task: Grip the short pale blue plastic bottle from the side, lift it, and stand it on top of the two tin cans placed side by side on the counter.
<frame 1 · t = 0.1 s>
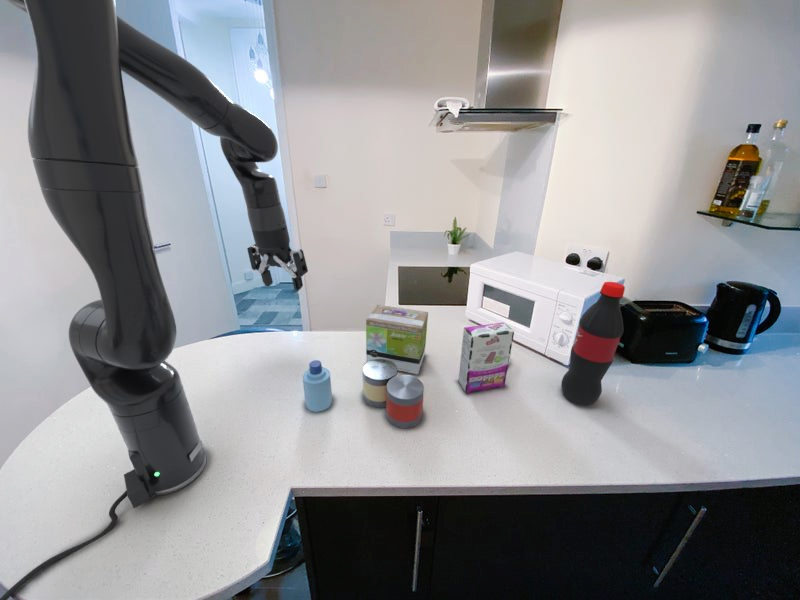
hand: (283, 287, 79), 22 cm above the worktop, tool pointing down, fingers open, 8 cm apart
candy bar box: (480, 384, 81), on the worktop
can front: (404, 414, 71), on the worktop
tea box: (396, 361, 90), on the worktop
plastic bottle: (319, 402, 74), on the worktop
cola bottle: (577, 397, 78), on the worktop
can back: (379, 395, 76), on the worktop
coaster: (491, 360, 92), on the worktop
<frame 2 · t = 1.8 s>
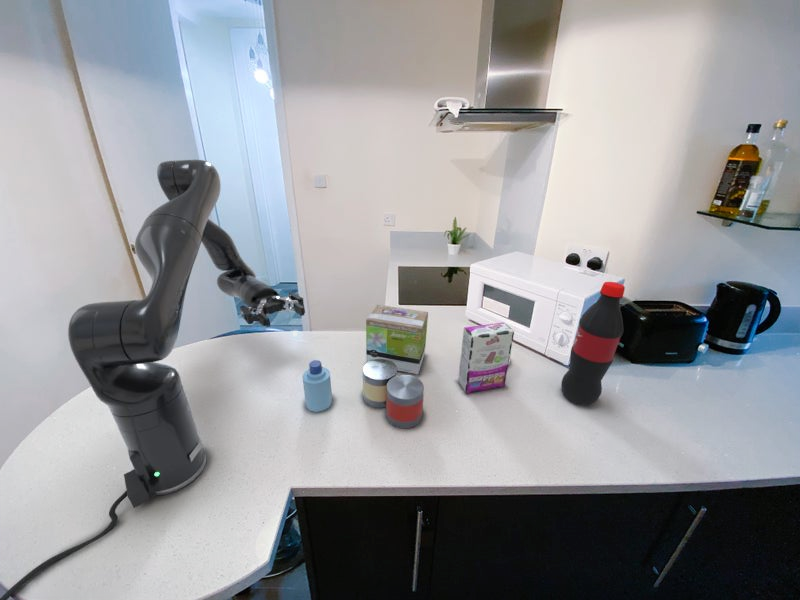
hand: (286, 317, 74), 18 cm above the worktop, tool horizontal, fingers open, 8 cm apart
nothing on the worktop moved.
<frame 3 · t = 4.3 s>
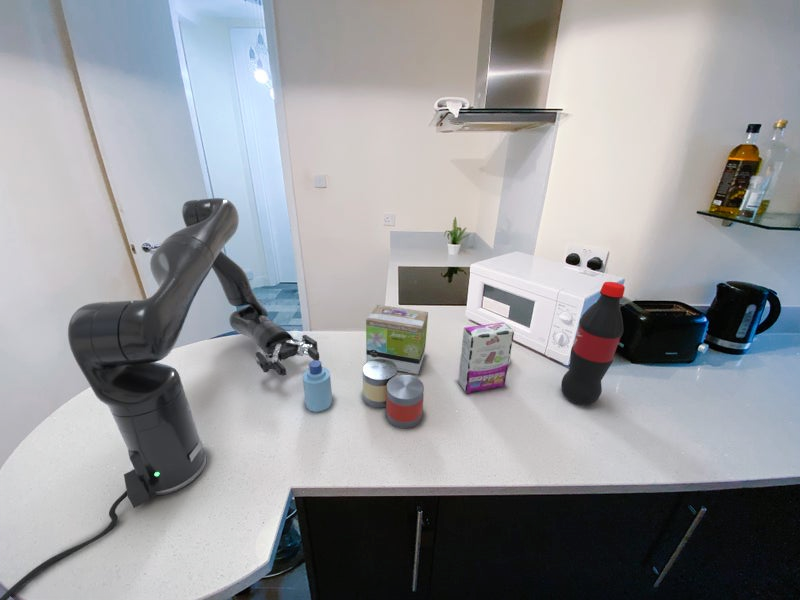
hand: (301, 364, 75), 7 cm above the worktop, tool horizontal, fingers open, 8 cm apart
nothing on the worktop moved.
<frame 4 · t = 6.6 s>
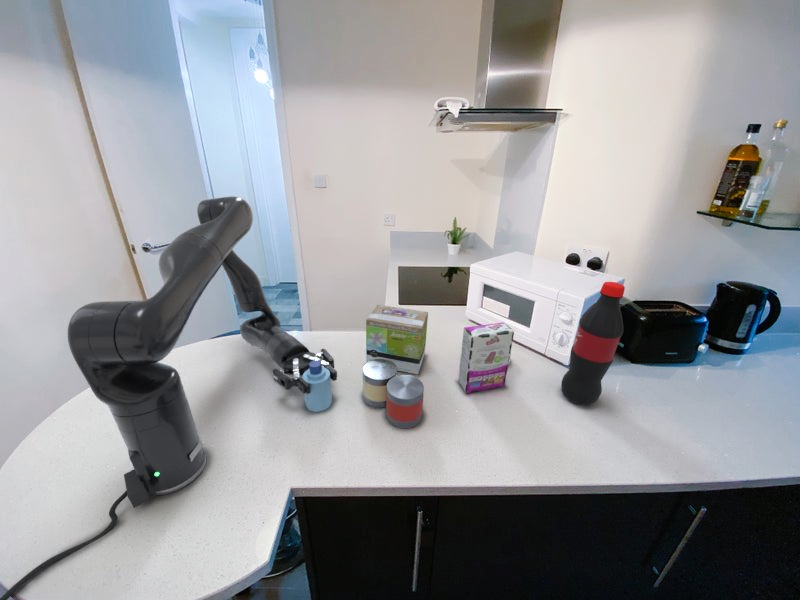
hand: (322, 383, 69), 7 cm above the worktop, tool horizontal, fingers closed on plastic bottle, 6 cm apart
plastic bottle: (319, 402, 74), on the worktop, touching gripper
everything else where it was.
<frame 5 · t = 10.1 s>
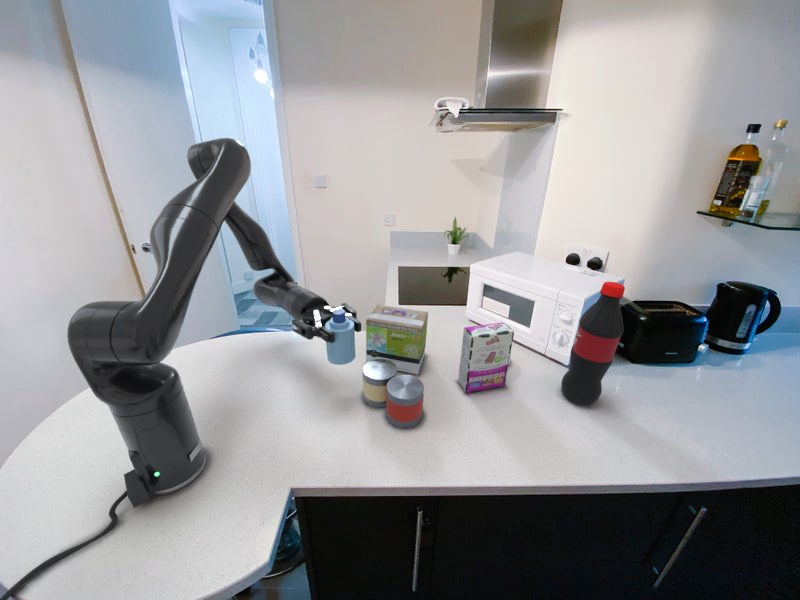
hand: (346, 333, 64), 20 cm above the worktop, tool horizontal, fingers closed on plastic bottle, 6 cm apart
plastic bottle: (341, 356, 69), point 13 cm above the worktop, touching gripper
everything else where it was.
when the fingers open (15 cm above the worktop, at t = 13.5 s): plastic bottle stays where it is, resting on can back, can front.
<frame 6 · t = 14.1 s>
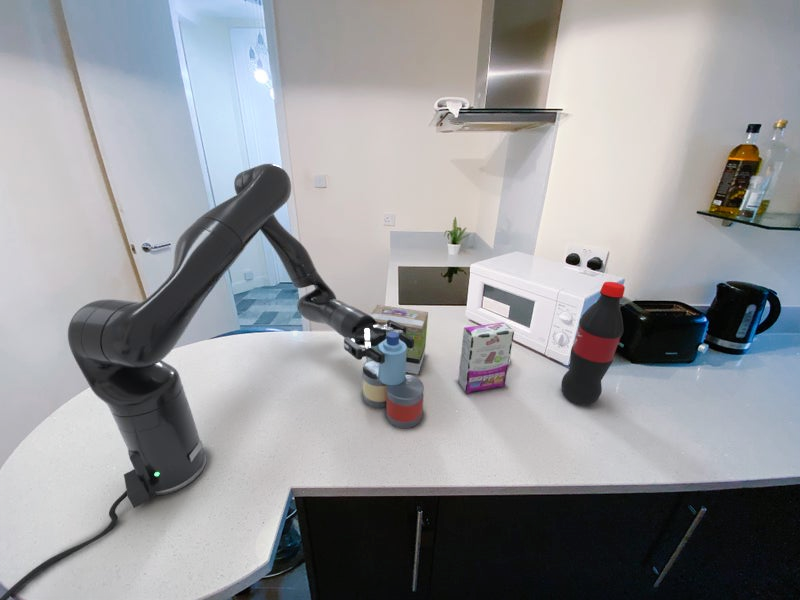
hand: (398, 351, 66), 16 cm above the worktop, tool horizontal, fingers open, 8 cm apart
can front: (404, 414, 71), on the worktop, touching plastic bottle
plastic bottle: (392, 376, 70), point 8 cm above the worktop, touching can back, can front
can back: (379, 395, 76), on the worktop, touching plastic bottle
everything else where it was.
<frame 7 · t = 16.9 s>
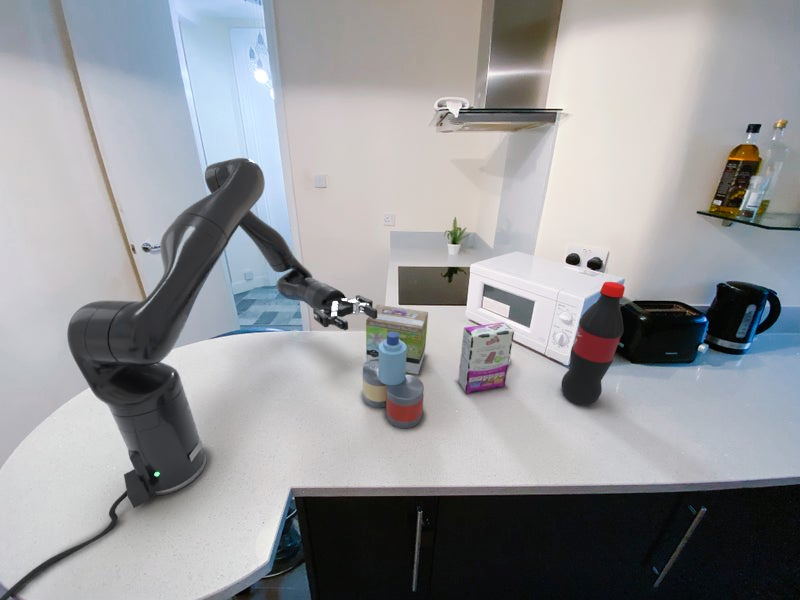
hand: (362, 320, 73), 18 cm above the worktop, tool horizontal, fingers open, 8 cm apart
nothing on the worktop moved.
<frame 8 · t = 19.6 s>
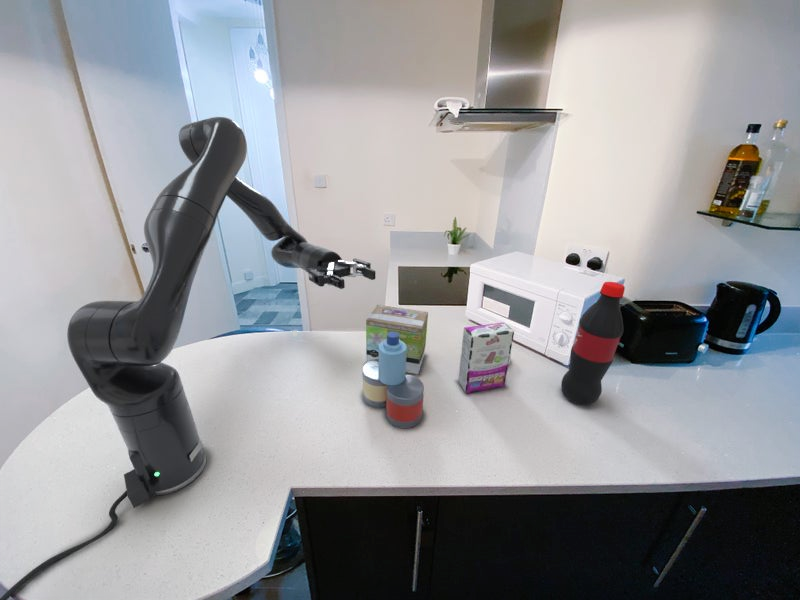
hand: (359, 279, 69), 28 cm above the worktop, tool horizontal, fingers open, 8 cm apart
nothing on the worktop moved.
at the end: plastic bottle 0.1 cm from the target spot, point 8.0 cm above the worktop; plastic bottle tilted 0°; the gripper is holding nothing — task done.
